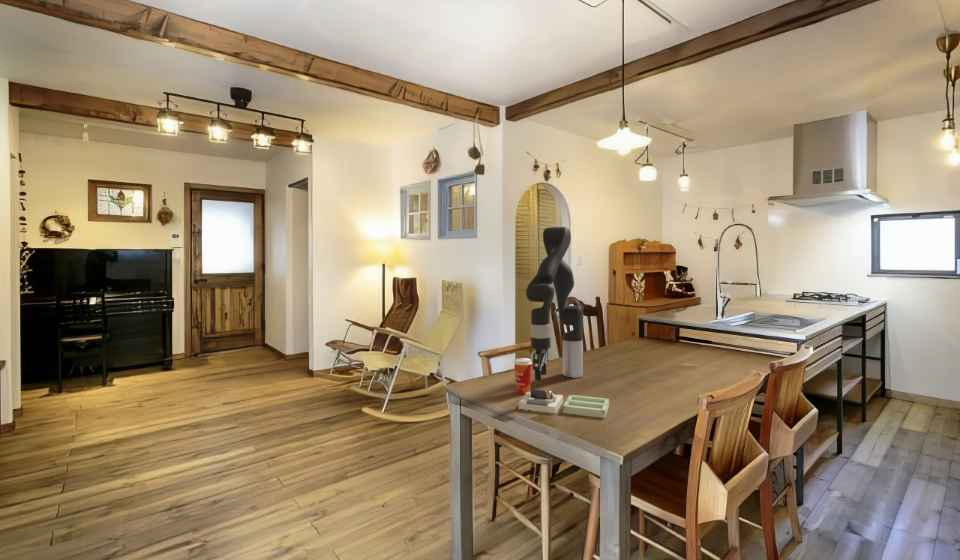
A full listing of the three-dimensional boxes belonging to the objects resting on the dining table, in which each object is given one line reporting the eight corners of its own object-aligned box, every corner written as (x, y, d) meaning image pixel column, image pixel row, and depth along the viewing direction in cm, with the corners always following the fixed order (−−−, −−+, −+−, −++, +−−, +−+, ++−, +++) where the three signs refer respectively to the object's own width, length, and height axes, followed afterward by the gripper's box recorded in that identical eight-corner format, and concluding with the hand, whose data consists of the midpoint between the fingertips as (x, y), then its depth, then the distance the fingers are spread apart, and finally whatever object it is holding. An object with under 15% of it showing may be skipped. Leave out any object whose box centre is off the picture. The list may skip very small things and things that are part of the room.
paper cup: (511, 391, 194) (510, 358, 193) (527, 388, 196) (526, 356, 195) (519, 396, 186) (518, 362, 185) (535, 394, 189) (535, 360, 188)
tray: (569, 401, 179) (569, 394, 179) (609, 405, 173) (609, 398, 173) (562, 413, 166) (562, 406, 166) (604, 418, 161) (604, 410, 161)
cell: (532, 398, 178) (532, 389, 179) (553, 400, 175) (554, 391, 176) (530, 397, 175) (530, 388, 176) (552, 399, 172) (552, 390, 173)
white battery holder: (528, 397, 184) (528, 387, 184) (563, 401, 179) (562, 390, 179) (518, 409, 171) (518, 398, 171) (555, 413, 166) (555, 402, 166)
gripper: (535, 332, 181) (536, 372, 182) (525, 338, 168) (526, 381, 169) (554, 333, 179) (554, 373, 179) (545, 339, 165) (546, 383, 166)
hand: (540, 377), depth 174 cm, fingers open, 8 cm apart
